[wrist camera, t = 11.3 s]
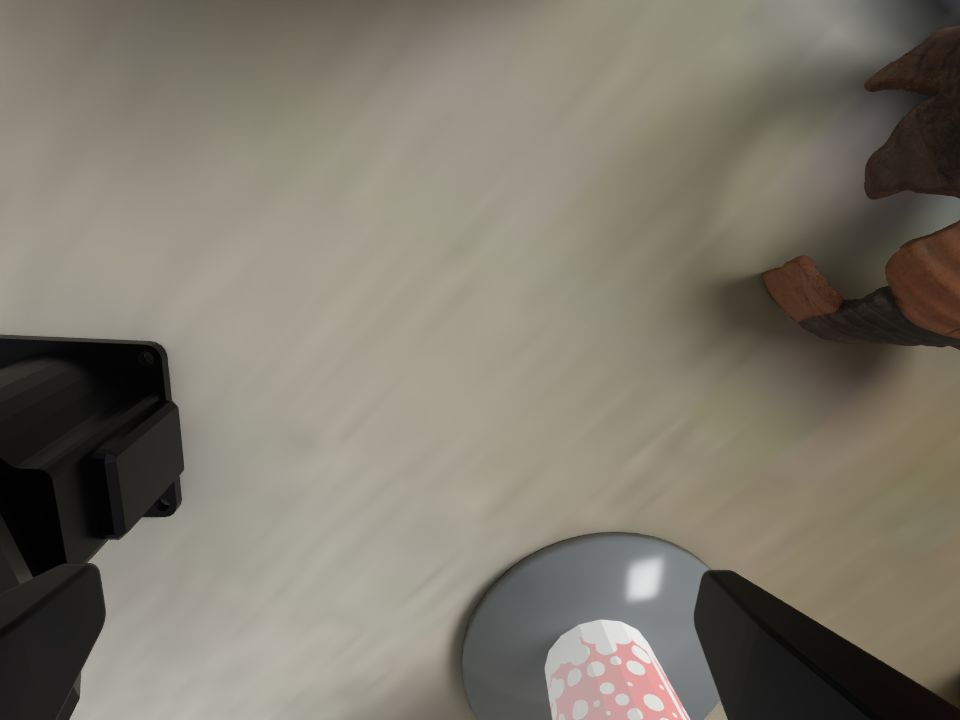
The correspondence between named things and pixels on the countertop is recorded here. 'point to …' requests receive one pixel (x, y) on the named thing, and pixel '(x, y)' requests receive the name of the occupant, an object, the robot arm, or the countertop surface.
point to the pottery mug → (922, 261)
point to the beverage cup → (608, 676)
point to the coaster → (585, 620)
